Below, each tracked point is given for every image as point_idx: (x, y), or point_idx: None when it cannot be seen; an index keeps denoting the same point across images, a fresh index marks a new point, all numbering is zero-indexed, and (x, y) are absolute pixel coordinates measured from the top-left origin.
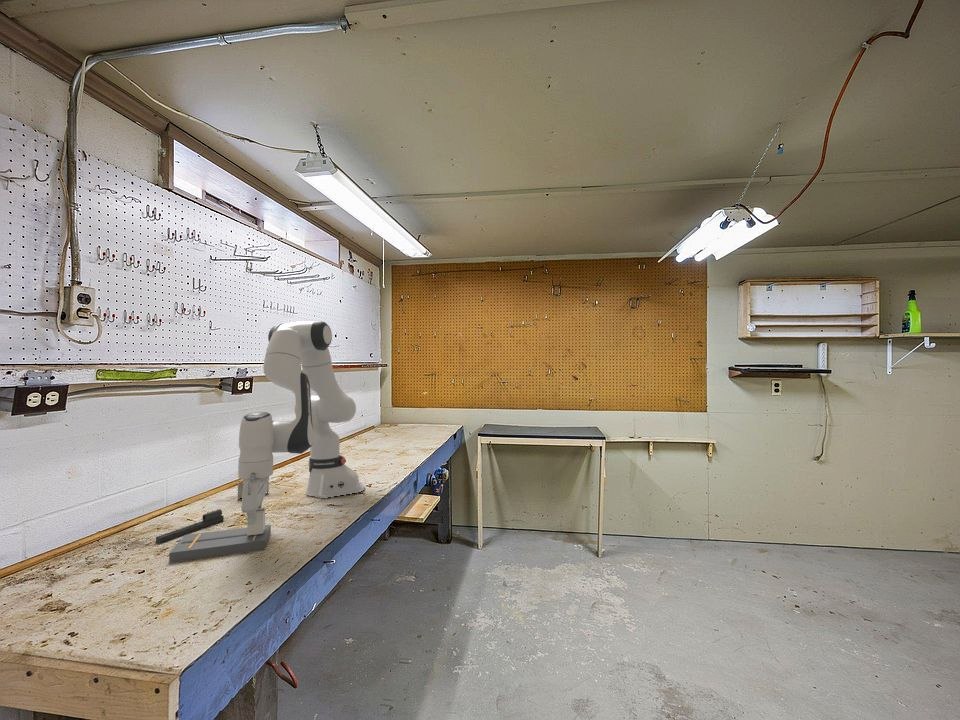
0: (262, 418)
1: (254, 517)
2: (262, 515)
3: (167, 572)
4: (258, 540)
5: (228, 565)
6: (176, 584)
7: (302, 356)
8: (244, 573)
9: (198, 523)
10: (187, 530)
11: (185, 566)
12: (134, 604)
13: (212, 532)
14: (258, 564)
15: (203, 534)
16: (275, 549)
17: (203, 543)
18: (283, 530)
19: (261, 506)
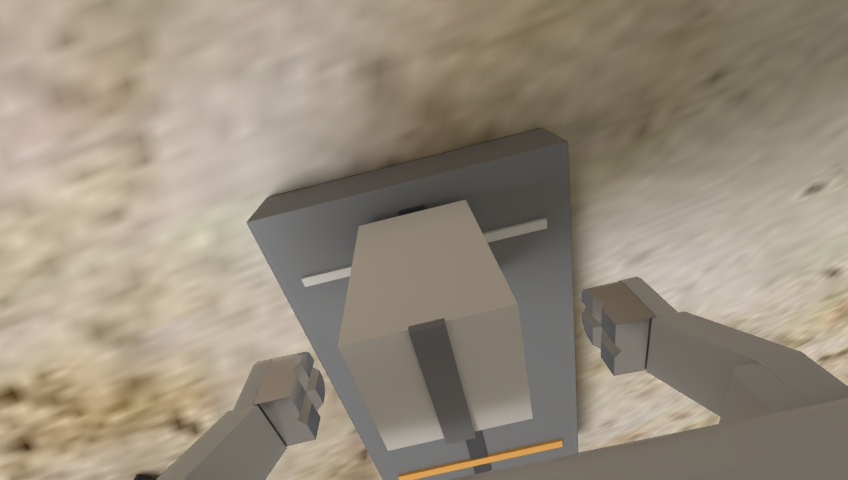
0: None
1: (695, 320)
2: (505, 287)
3: (644, 405)
4: (557, 187)
5: (684, 237)
6: (766, 339)
7: None
8: (832, 116)
9: None
10: None
11: (615, 382)
12: (840, 375)
13: (379, 450)
14: (754, 79)
15: (401, 467)
16: (559, 49)
17: (514, 424)
18: (206, 122)
19: (251, 402)
